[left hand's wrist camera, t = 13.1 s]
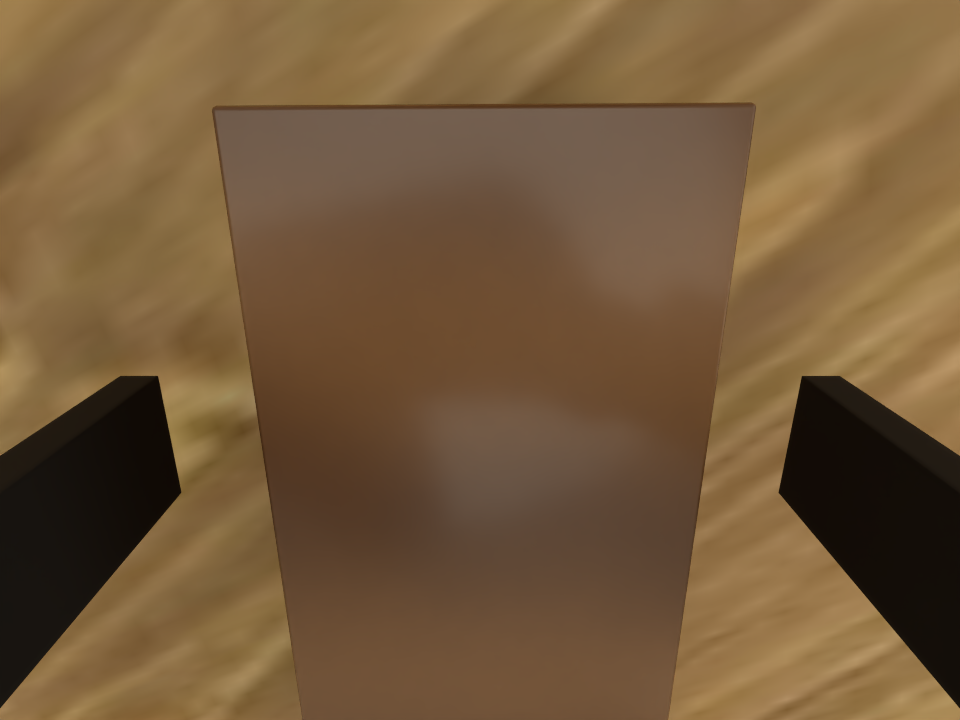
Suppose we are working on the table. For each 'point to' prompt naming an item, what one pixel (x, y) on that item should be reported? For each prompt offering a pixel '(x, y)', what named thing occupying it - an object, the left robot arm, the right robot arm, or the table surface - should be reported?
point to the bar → (484, 391)
